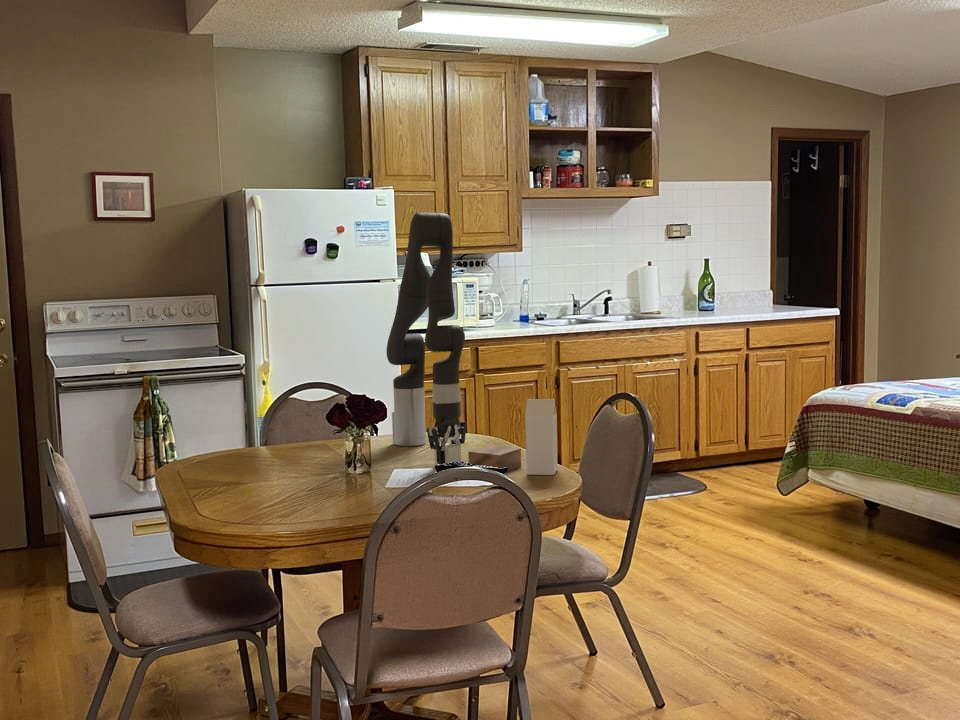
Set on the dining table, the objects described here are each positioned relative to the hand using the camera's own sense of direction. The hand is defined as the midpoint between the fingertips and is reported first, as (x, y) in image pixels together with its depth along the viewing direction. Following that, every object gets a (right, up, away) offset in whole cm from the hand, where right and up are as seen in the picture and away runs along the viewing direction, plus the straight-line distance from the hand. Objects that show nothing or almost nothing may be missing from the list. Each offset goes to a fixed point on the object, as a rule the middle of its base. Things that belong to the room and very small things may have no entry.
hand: (448, 462), depth 270 cm
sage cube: (0, -1, 0) cm, 0 cm away
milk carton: (+25, -2, -11) cm, 27 cm away
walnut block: (+13, -1, -4) cm, 13 cm away
